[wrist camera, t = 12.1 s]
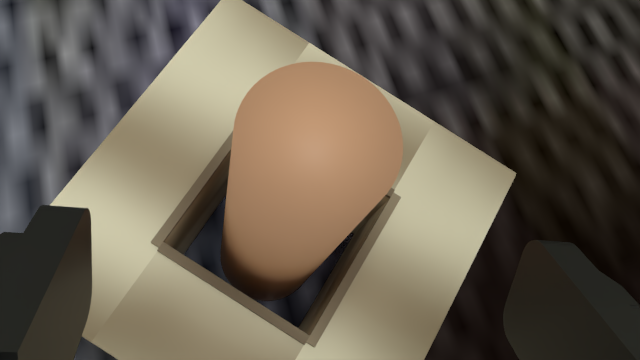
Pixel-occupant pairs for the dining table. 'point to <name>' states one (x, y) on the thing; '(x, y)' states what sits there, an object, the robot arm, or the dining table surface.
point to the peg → (303, 173)
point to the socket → (211, 187)
